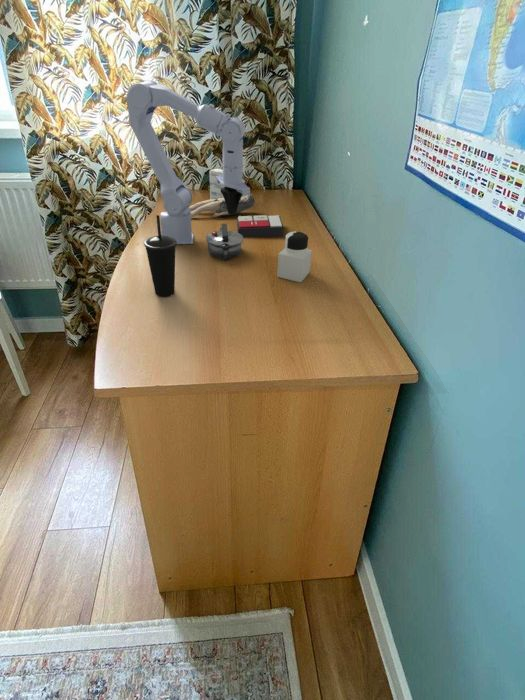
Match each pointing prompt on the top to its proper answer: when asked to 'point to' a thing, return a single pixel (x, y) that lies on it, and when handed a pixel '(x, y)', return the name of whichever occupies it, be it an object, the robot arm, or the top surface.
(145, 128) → the robot arm
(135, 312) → the top surface
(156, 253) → the drinking cup
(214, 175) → the ink box
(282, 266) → the medicine bottle
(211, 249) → the pot
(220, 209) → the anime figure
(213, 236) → the lid
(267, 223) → the calculator
